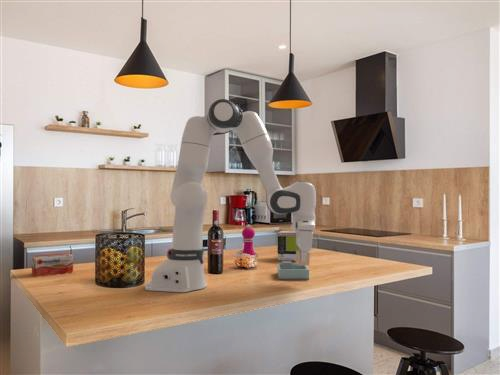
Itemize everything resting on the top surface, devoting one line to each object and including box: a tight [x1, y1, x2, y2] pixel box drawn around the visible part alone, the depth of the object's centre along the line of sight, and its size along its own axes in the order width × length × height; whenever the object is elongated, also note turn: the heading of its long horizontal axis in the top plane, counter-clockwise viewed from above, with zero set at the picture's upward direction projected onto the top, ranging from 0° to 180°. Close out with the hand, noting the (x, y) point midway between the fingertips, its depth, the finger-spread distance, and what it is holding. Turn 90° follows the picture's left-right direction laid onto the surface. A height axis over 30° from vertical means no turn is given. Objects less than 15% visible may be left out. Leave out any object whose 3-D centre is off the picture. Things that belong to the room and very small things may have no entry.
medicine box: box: [31, 252, 74, 278], centre depth 175 cm, size 15×8×8 cm, turn 125°
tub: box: [277, 263, 310, 281], centre depth 172 cm, size 12×13×4 cm
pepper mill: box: [241, 224, 256, 255], centre depth 192 cm, size 7×7×20 cm
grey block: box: [281, 260, 293, 269], centre depth 174 cm, size 4×4×5 cm
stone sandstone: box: [295, 251, 311, 266], centre depth 157 cm, size 4×4×5 cm
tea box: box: [276, 230, 299, 262], centre depth 214 cm, size 15×10×15 cm
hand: (302, 259), depth 157 cm, fingers closed on stone sandstone, 5 cm apart
